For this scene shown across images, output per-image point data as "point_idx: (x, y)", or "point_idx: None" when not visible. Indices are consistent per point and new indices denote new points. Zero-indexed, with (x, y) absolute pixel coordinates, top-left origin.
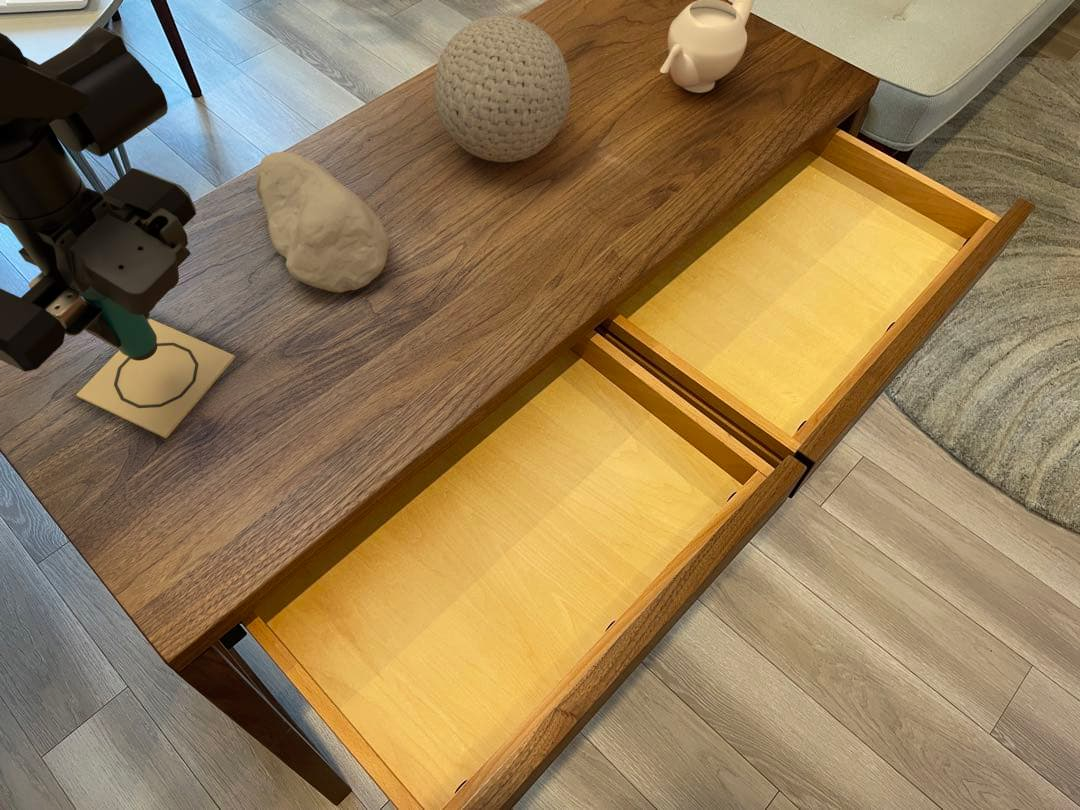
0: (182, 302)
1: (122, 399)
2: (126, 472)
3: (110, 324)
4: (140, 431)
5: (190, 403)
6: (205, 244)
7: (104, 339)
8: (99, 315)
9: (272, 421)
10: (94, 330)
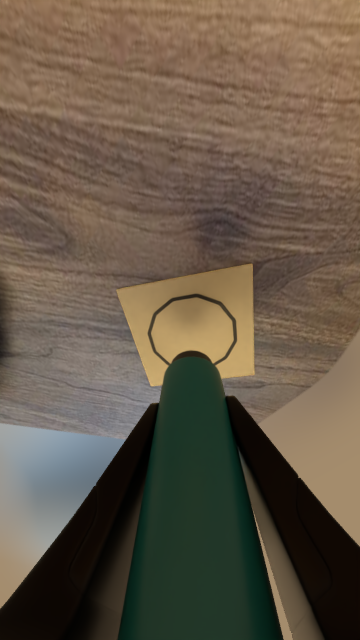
0: (118, 378)
1: (236, 339)
2: (312, 264)
3: (239, 468)
4: (256, 296)
5: (197, 277)
6: (66, 405)
7: (269, 441)
8: (321, 621)
9: (145, 151)
10: (340, 534)
